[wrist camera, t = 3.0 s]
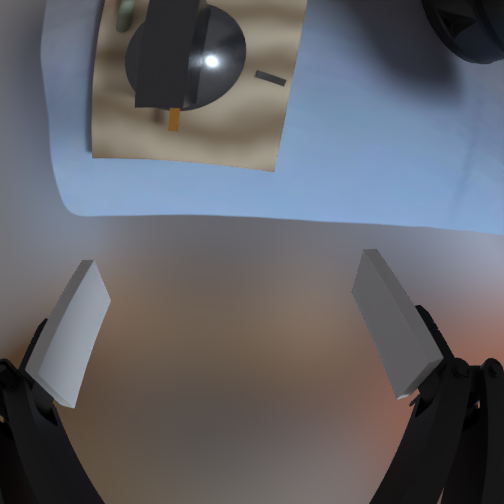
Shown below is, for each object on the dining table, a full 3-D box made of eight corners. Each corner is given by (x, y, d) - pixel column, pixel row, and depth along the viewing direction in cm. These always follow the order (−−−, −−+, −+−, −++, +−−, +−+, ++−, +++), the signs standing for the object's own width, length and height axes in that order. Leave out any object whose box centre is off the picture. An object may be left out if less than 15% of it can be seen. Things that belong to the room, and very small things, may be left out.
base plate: (118, -20, 15) (106, -27, 12) (307, -16, 17) (314, -26, 14) (99, 153, 29) (86, 162, 26) (272, 166, 31) (275, 177, 28)
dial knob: (140, 10, 17) (108, -8, 11) (254, 11, 18) (258, -14, 12) (127, 125, 25) (92, 143, 19) (234, 131, 26) (230, 149, 20)
